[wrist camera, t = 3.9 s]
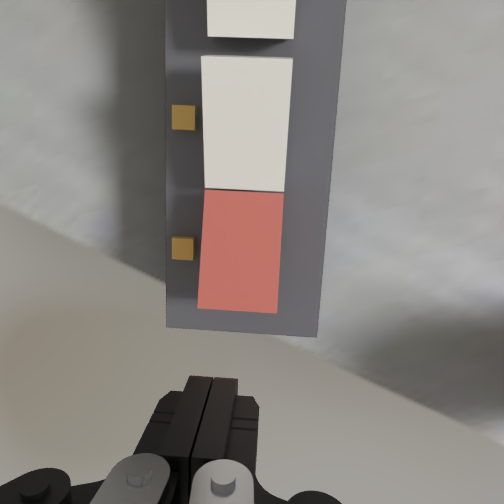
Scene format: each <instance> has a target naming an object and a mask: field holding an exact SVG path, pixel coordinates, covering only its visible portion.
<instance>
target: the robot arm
mask: <svg viewBox="0 0 504 504" xmlns="http://www.w3.org/2000/svg"><path fill="white" fill-rule="evenodd" d="M237 394H238V379H233V378H218V377H215V378H214V379H213V377H203V376H189V378H188V381H187V383H186V386H185V388H184V391H183V392H181V391H170V392H169V393H168V394H166V395H165V396H164V397H163V398H161V399H160V400H159V402H158V404H157V406H156V408H155V410H154V414H152V416H151V419H150V421H149V423H148V425H147V427H146V429H145V431H144V433H143V435H142V437H141V439H140V441H139V443H138V445H137V447H136V449H135V451H134V453H133V455H131V456H129V457H126V458H124V459H123V460H121V461H120V462H118V463H117V464H116V465H115V466H114V467H113V468H112V470H111V471H110V473H109V474H108V476H107V477H106V479H104V480H101V481H98V482H93V483H87V484H82V485H77V486H71V483H70V478H69V476H68V475H67V473H65V472H64V471H62V470H60V469H55V468H43V469H38V470H34V471H31V472H28V473H26V474H24V475H22V476H20V477H18V478H16V479H14V480H12V481H10V482H8V483H6V484H4V485H2V486H0V504H341V503H340V502H339V501H338V500H337V499H335V498H334V497H332V496H330V495H328V494H326V493H322V492H319V491H304V492H300V493H298V494H296V495H294V496H293V497H291V499H289V500H288V501H285V500H283V499H280V498H278V497H276V496H273V495H272V494H270V493H268V492H267V491H266V490H264V489H263V487H262V486H261V485H260V484H259V482H258V480H257V478H256V475H255V470H256V455H257V437H258V419H259V406H258V404H257V403H256V401H255V399H254V397H251V396H238V395H237Z"/></svg>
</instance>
